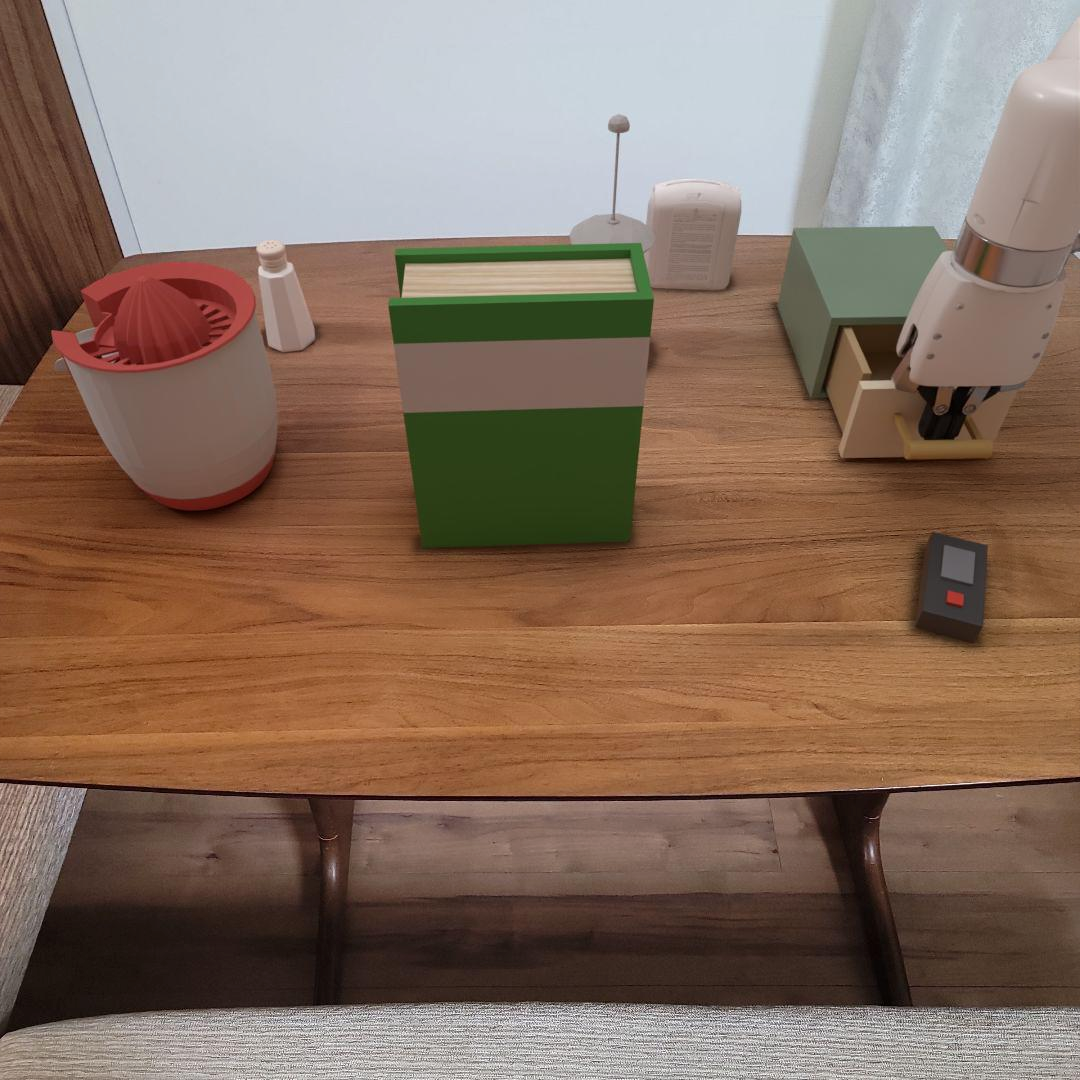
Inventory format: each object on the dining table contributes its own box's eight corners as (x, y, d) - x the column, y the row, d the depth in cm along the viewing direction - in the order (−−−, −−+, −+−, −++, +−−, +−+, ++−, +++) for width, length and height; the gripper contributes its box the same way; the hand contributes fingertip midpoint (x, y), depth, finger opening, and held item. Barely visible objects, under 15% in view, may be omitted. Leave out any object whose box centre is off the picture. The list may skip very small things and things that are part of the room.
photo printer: (727, 275, 109) (744, 172, 100) (730, 295, 106) (747, 191, 97) (640, 272, 110) (648, 170, 101) (640, 292, 107) (649, 188, 98)
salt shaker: (325, 342, 100) (306, 248, 92) (278, 359, 98) (254, 265, 90) (304, 319, 103) (284, 226, 95) (258, 334, 101) (233, 241, 93)
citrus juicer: (139, 413, 92) (63, 224, 77) (312, 419, 91) (269, 229, 76) (75, 526, 81) (-27, 330, 66) (271, 533, 80) (212, 338, 66)
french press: (630, 323, 102) (649, 87, 84) (673, 383, 95) (704, 139, 76) (546, 339, 100) (547, 101, 82) (583, 403, 92) (593, 155, 74)
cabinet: (956, 399, 93) (990, 315, 86) (809, 401, 93) (831, 317, 85) (907, 307, 104) (933, 225, 97) (776, 308, 104) (793, 227, 97)
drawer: (1009, 496, 82) (1044, 426, 76) (856, 498, 82) (879, 429, 76) (934, 356, 96) (959, 289, 90) (804, 358, 96) (820, 291, 90)
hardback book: (422, 551, 79) (388, 305, 61) (426, 491, 84) (395, 248, 66) (629, 545, 79) (654, 299, 62) (620, 485, 84) (641, 242, 67)
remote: (922, 552, 78) (933, 528, 76) (977, 566, 77) (989, 542, 75) (912, 631, 73) (923, 607, 71) (971, 647, 72) (984, 623, 69)
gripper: (1090, 223, 70) (1003, 413, 84) (894, 225, 70) (838, 415, 84) (1135, 275, 65) (1034, 469, 79) (924, 277, 65) (859, 470, 78)
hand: (933, 440), depth 81 cm, fingers closed
